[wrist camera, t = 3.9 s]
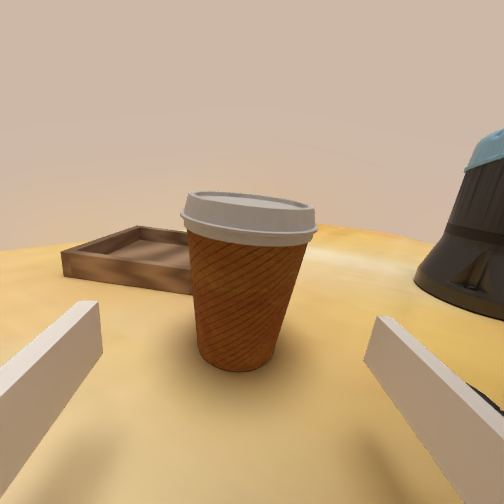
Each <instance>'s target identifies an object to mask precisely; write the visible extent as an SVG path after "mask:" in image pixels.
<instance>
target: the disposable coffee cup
mask: <svg viewBox="0 0 504 504" xmlns="http://www.w3.org/2000/svg"><path fill="white" fill-rule="evenodd" d="M180 216H181V217H182V218H183V219H184V226H185V227H186V228H187V236H188V247H189V257H190V267H191V278H192V289H193V299H194V309H195V320H196V330H197V341H198V347H199V351H200V353H201V355H202V356H203V357H204V358H205V359H206V360H207V361H208V362H209V363H211V364H212V365H214V366H216V367H218V368H221V369H224V370H228V371H238V372H239V371H249V370H253V369H256V368H258V367H260V366H262V365H264V364H265V363H267V362H268V360H269V359H270V358H271V356H272V354H273V351H274V347H275V344H276V341H277V338H278V335H279V332H280V329H281V326H282V322H283V319H284V316H285V313H286V310H287V307H288V304H289V301H290V297H291V294H292V292H293V288H294V285H295V282H296V279H297V276H298V272H299V270H300V266H301V263H302V260H303V257H304V254H305V251H306V247H307V244H308V242H310V241H311V239H312V237H313V234H314V233H316V232H317V230H318V225H317V224H315V212H314V207H313V206H312V205H309V204H305V203H301V202H297V201H292V200H286V199H280V198H274V197H268V196H260V195H252V194H242V193H231V192H215V191H195V192H190V193H188V197H187V201H186V205H185V209H183V210H181V212H180Z"/></svg>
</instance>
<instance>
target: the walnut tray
mask: <svg viewBox="0 0 504 504" xmlns="http://www.w3.org/2000/svg"><path fill="white" fill-rule="evenodd" d="M61 259H62V266H63V274H64V276H66V277H73V278H80V279H87V280H93V281H100V282H107V283H114V284H121V285H128V286H135V287H141V288H148V289H155V290H162V291H169V292H176V293H183V294H189V295H193V289H192V278H191V267H190V257H189V247H188V236H187V232H183V231H175V230H168V229H160V228H152V227H144V226H135V227H132V228H129V229H126V230H123V231H120V232H117V233H114V234H111V235H108V236H106V237H102V238H99V239H97V240H94V241H91V242H88V243H85V244H82V245H79V246H76V247H73V248H70V249H67V250H64V251H61Z"/></svg>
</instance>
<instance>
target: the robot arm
mask: <svg viewBox="0 0 504 504" xmlns="http://www.w3.org/2000/svg"><path fill="white" fill-rule="evenodd" d="M464 173H466V174H465V176H464V179H463V182H462V185H461V187H460V190H459V193H458V195H457V198H456V201H455V204H454V206H453V209H452V212H451V215H450V217H449V220H448V223H447V226H446V229H445V231H444V234H443V236H442V238H441V239H440V241H439V242H438V243H437V244H436V245H435V247H434V248H433V249H432V250H431V252H430V253H429V254H428V255H427V257H426V258H425V259H424V261H423V262H422V263H421V264H420V265H419V266H418V269H417V272H416V275H415V277H414V281H415V282H416V284H417V285H419V286H420V287H421V288H422V289H424V290H425V291H427V292H429V293H431V294H432V295H434V296H436V297H438V298H440V299H443V300H445V301H447V302H450V303H452V304H454V305H457V306H460V307H462V308H465V309H468V310H471V311H474V312H477V313H480V314H484V315H487V316H491V317H495V318H499V319H503V320H504V129H502V130H499V131H496V132H493V133H491V134H489V135H487V136H486V137H484V138H483V139H482V140H481V141H480V142H479V143H478V144H477V146H476V147H475V150H474V152H473V154H472V157H471V159H470V162H469V164H468V166H467V167H466V168H465V170H464ZM102 354H103V347H102V336H101V325H100V314H99V302H98V301H82V300H80V301H78V302H77V303H76V304H75V305H74V306H73V307H71V308H70V309H69V310H68V311H67V312H65V313H64V314H63V315H62V316H61V317H60V318H58V319H57V320H56V321H55V322H54V323H52V324H51V325H50V326H49V327H48V328H47V329H45V330H44V331H43V332H42V333H41V334H39V335H38V336H37V337H36V338H35V339H34V340H32V341H31V342H30V343H29V344H28V345H27V346H25V347H24V348H23V349H22V350H21V351H19V352H18V353H17V354H16V355H15V356H14V357H12V358H11V359H10V360H9V361H8V362H6V363H5V364H4V365H3V366H2V367H1V368H0V498H1V497H2V495H3V494H4V493H5V491H6V490H7V488H8V487H9V486H10V484H11V483H12V481H13V480H14V478H15V477H16V476H17V474H18V473H19V471H20V470H21V469H22V467H23V466H24V464H25V463H26V461H27V460H28V459H29V457H30V456H31V454H32V453H33V452H34V450H35V449H36V447H37V446H38V444H39V443H40V442H41V440H42V439H43V437H44V436H45V435H46V433H47V432H48V430H49V429H50V427H51V426H52V425H53V423H54V422H55V420H56V419H57V418H58V416H59V415H60V413H61V412H62V410H63V409H64V408H65V406H66V405H67V403H68V402H69V401H70V399H71V398H72V396H73V395H74V393H75V392H76V391H77V389H78V388H79V386H80V385H81V384H82V382H83V381H84V379H85V378H86V377H87V375H88V374H89V372H90V371H91V369H92V368H93V367H94V365H95V364H96V362H97V361H98V360H99V358H100V357H101V355H102ZM363 361H364V362H365V364H366V365H367V367H368V368H369V369H370V371H371V372H372V374H373V375H374V376H375V378H376V379H377V381H378V382H379V383H380V385H381V386H382V388H383V389H384V391H385V392H386V393H387V395H388V396H389V398H390V399H391V400H392V402H393V403H394V405H395V406H396V407H397V409H398V410H399V412H400V413H401V415H402V416H403V417H404V419H405V420H406V422H407V423H408V424H409V426H410V427H411V429H412V430H413V431H414V433H415V434H416V436H417V437H418V438H419V440H420V441H421V443H422V444H423V446H424V447H425V448H426V450H427V451H428V453H429V454H430V455H431V457H432V458H433V460H434V461H435V462H436V464H437V465H438V467H439V468H440V470H441V471H442V472H443V474H444V475H445V477H446V478H447V479H448V481H449V482H450V484H451V485H452V486H453V488H454V489H455V491H456V492H457V494H458V495H459V496H460V498H461V499H462V501H463V502H464V503H465V504H504V411H501V410H500V408H499V407H498V406H497V405H496V404H495V403H494V402H493V401H491V400H490V399H489V398H488V397H487V396H486V395H484V394H483V393H481V392H480V391H478V390H477V389H475V388H474V387H472V386H471V385H469V384H468V383H465V382H464V381H463V380H462V379H460V378H459V377H458V376H457V375H456V374H455V373H454V372H453V371H451V370H450V369H449V368H448V367H447V366H446V365H445V364H444V363H442V362H441V361H440V360H439V359H438V358H437V357H436V356H435V355H434V354H432V353H431V352H430V351H429V350H428V349H427V348H426V347H425V346H423V345H422V344H421V343H420V342H419V341H418V340H417V339H416V338H415V337H413V336H412V335H411V334H410V333H409V332H408V331H407V330H406V329H404V328H403V327H402V326H401V325H400V324H399V323H398V322H397V321H395V320H394V319H393V318H392V317H390V316H377V317H376V320H375V324H374V327H373V330H372V334H371V337H370V340H369V344H368V347H367V350H366V354H365V357H364V360H363Z"/></svg>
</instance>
